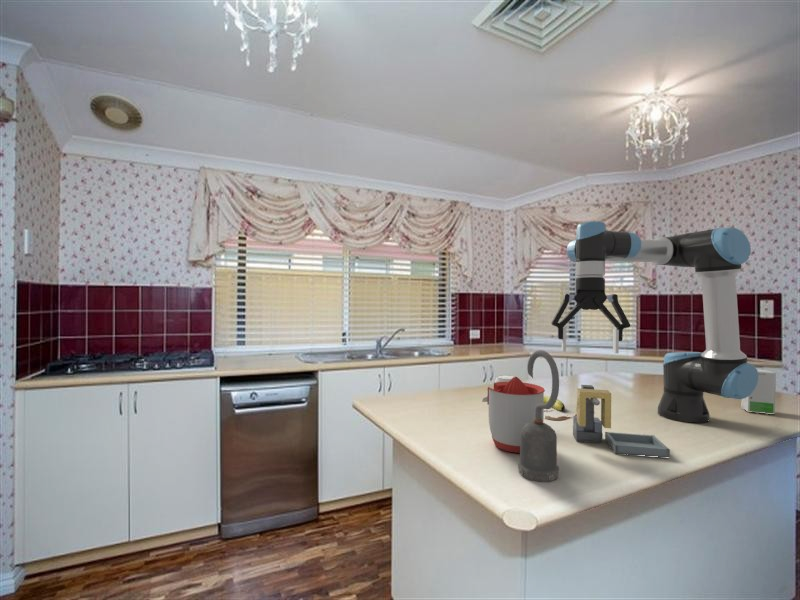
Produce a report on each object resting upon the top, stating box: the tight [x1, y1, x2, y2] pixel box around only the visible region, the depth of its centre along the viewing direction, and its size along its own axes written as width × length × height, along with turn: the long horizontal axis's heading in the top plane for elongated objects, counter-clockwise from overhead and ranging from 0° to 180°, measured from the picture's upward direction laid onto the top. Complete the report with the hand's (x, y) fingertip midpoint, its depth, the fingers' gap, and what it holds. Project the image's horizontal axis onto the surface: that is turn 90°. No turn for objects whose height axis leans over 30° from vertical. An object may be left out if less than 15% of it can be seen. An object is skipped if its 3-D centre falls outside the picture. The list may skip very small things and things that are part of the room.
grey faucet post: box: [572, 384, 604, 445], centre depth 116 cm, size 7×14×16 cm, turn 166°
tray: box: [604, 431, 671, 457], centre depth 112 cm, size 13×11×2 cm
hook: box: [517, 349, 560, 483], centre depth 96 cm, size 10×12×30 cm
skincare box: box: [740, 369, 777, 414], centre depth 149 cm, size 8×7×16 cm
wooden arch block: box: [576, 388, 612, 429], centre depth 112 cm, size 8×4×10 cm, turn 76°
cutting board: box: [544, 394, 577, 421], centre depth 157 cm, size 35×27×4 cm
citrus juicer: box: [481, 376, 546, 454], centre depth 115 cm, size 16×17×20 cm
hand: (589, 351), depth 114 cm, fingers open, 13 cm apart
